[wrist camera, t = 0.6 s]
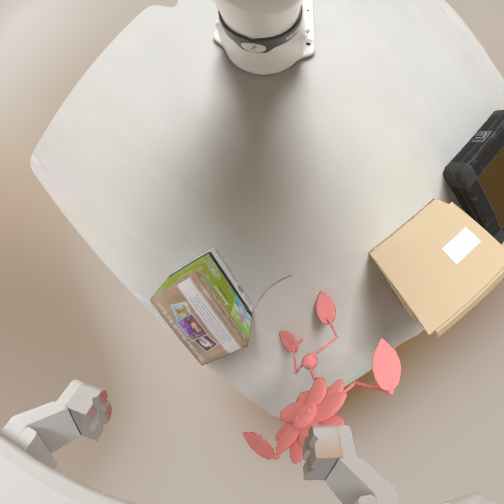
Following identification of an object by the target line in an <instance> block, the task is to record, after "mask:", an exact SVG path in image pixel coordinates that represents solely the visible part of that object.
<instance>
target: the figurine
mask: <svg viewBox="0 0 504 504" xmlns="http://www.w3.org/2000/svg"><path fill="white" fill-rule="evenodd" d="M290 276H291V275H290ZM288 277H289V276H288ZM283 279H284V278H283ZM281 280H282V279H281ZM276 283H277V282H276ZM273 285H274V284H273ZM273 285H272V286H273ZM264 290H265V289H264ZM262 296H263V295H262ZM260 299H261V298H260ZM256 307H257V306H256ZM316 309H317V314H318V317H319V318H320V320H321V321H322V322H323V323H324V324H328V325H329V324H330V326H331V328H332V330H333V332H334V334H335V336H336V337H335V338H334V339H333V340H332V341H330V342H329V343H328V344H326V345H325V346H324V347H322V348H321V349H319V350H318V351H317V352H315V353H314V354H307V355H305V356H304V357H303V359H302V364H301V366H300V367H299V368H298V370H296V360H295V352H297V351H298V350H297V349H298V345H299V344H300V343H301V342H302V341H303V339H301V340H300V341H299V342H298V343H297V341H296V339H295V337H294V336H293V335H292V333H290V332H279V333H280V337H281V340H282V343H283V345H284V346H285V348H286V349H287V350H288V351H290V352H293V359H294V370H295V374H297V373H298V372H299V370H300V369H301V368H302V366H304V367H305V368H306V369H309V370H310V372H311V374H312V377H313V379H314V383H313V385H312V387H311V389H310V391H305V392H302V393H300V395H299V396H298V398H297V401H296V402H295V403H293V404H291V405H289V406H287V407H286V408H285V409H284V410H283V411H282V412H281V414H280V419H281V420H282V421H286V423H285V424H284V425H283V427H281V429H280V430H279V432H278V433H277V435H276V438H275V439H276V441H278V443H277V446H276V454H275V452H274V449H273V448H272V446H270V444H269V443H268V442H267V441H266V440H265V439H264V438H263V437H262V436H260V435H258V434H256V433H254V432H245V433H243V435H244V437H245V439H246V441H247V442H248V444H249V445H250V447H251V448H252V449H253V450H254V451H255V452H256V453H257V454H258V455H260V456H261V457H263V458H266V459H269V460H271V459H273V458H274V459H275V460H277V459H278V458H279V455H280V454H281V453H283V452H284V451H285V450H287V449H288V448H289V447H290V458H291V461H292V462H293V463H294V464H297V463H299V462H300V461H301V460H302V459H303V444H304V440H305V438H306V437H307V436H309V434H308V430H309V428H310V426H311V425H314V426H328V425H335V426H344V424H345V422H344V421H343V419H342V418H340V417H339V416H337V415H335V414H336V412H337V411H338V410H339V409H340V408H341V406H342V405H343V403H344V401H345V399H346V396H347V394H346V392H348V391H349V390H350V389H351V388H352V387H353V386H354V385H359V386H363V387H366V388H370V389H374V390H378V391H382V392H386V393H388V394H389V395H392V394H393V393H394V390H393V389H394V388H395V387H396V386H397V385H398V384H399V379H400V375H401V364H400V360H399V358H398V355H397V353H396V351H395V350H394V349H393V348H392V347H391V346H390V345H389V344H388V343H387V342H386V341H385V340H384V339H382V338H381V340H380V341H379V343H378V345H377V348H376V351H375V353H374V356H373V366H372V370H373V373H374V378H375V380H376V381H377V383H378V384H379V386H380V387H378V386H374V385H370V384H365V383H362V382H356V381H354V382H353V383H352V384H351V385H350V386H349V387H347V389H345V390H344V391H343V389H344V382H343V380H337V381H336V382H335V383H334V384H333V385H332V386H331V387H330V388H329V389H328V390H327V385H326V383H325V380H324V379H323V377H319V378H317V377H316V375H315V373H314V371H313V368H315V367H316V366H317V364H318V359H317V357H316V356H315V355H316V354H317V353H319V352H320V351H321V350H323V349H324V348H325V347H327V346H328V345H329V344H331V343H332V342H333V341H335V340H336V339H337V338H338V335H337V333H336V331H335V329H334V327H333V325H332V322H333V321H334V319H335V312H336V310H335V305H334V303H333V301H332V299H331V298H330V297H329V296H327V295H326V294H325V293H323V292H320V294H319V296H318V300H317V303H316ZM254 329H255V328H254Z"/></svg>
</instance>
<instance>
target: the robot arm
mask: <svg viewBox="0 0 504 504" xmlns="http://www.w3.org/2000/svg"><path fill="white" fill-rule="evenodd" d="M213 1H214V3H215V4H216V6H217V8H218V13H219V20H218V21H216V30H215V31H214V33H213V37H214V40H215V41H216V42H217V43H218V44H220V45H221V46H222V47H223V48H224V49H225V51H226V53H227V55H228V57H229V59H230V60H231V61H232V62H233V63H234V64H235V65H236V66H237V67H239V68H240V69H242V70H244V71H247V72H250V73H253V74H260V75H268V74H274V73H278V72H281V71H284V70H286V69H287V68H289V67H291V66H292V65H293V64H294V63H295V62H297V61H298V60H300V59H302V58H306V57H309V56H311V55H313V54H314V53H315V37H314V20H313V6H312V0H213ZM307 11H308V12H307ZM306 43H309V44H310V45H309V46H308V45H306ZM107 397H108V395H107V392H106V391H105V390H102V389H100V388H97V387H94V386H92V385H89V384H86V383H84V382H81V381H78V380H76V379H75V380H73V381H72V382H71V383H70V384H69V386H68V387H67V388H66V389H65V391H64V392H63V393H62V395H61V396H60V397H59V398H58V400H57V401H56V402H50V403H47V404H45V405H42V406H40V407H37V408H35V409H32V410H29V411H26V412H24V413H21V414H18V415H15V416H13V417H12V418H11V419H10V421H9V422H8V423H7V424H6V426H5V427H4V428H3V429H2V431H1V432H0V504H134V503H131V502H128V501H126V500H123V499H120V498H117V497H114V496H112V495H109V494H107V493H104V492H102V491H99V490H97V489H95V488H92V487H90V486H88V485H85V484H83V483H81V482H79V481H77V480H74V479H72V478H70V477H69V476H66V475H65V474H63V473H61V472H59V471H57V470H55V467H56V465H57V462H56V460H55V459H54V457H53V456H52V455H51V453H52V452H54V451H56V450H58V449H59V448H61V447H62V446H64V445H66V444H68V443H69V442H71V441H73V440H75V439H76V438H78V437H80V436H81V435H83V436H85V437H88V438H91V439H93V440H96V441H98V439H99V438H100V436H101V434H102V432H103V426H102V425H104V424H107V423H108V421H109V419H110V417H111V413H112V411H111V410H112V408H111V404H110V402H109V401H108V400H107ZM308 434H309V436H307V437H306V438H305V440H304V444H303V459H304V460H305V461H306V462H305V464H304V466H303V470H304V471H303V472H304V480H325V482H326V483H327V485H328V486H329V487H330V488H331V490H332V491H333V492H334V493H335V495H336V496H337V497H338V499H339V500H340V501H341V502H342V504H400V502H399V498H398V494H397V490H396V489H395V488H394V487H393V486H392V485H390V484H389V483H388V482H387V481H386V480H385V479H384V478H383V477H381V476H380V475H379V474H378V473H377V472H376V471H375V470H374V469H372V468H371V467H370V466H369V465H368V464H367V463H366V462H365V461H364V460H363V459H362V458H360V457H357V456H356V451H355V447H354V442H353V438H352V433H351V429H350V427H349V426H347V425H345V426H335V425H328V426H314V425H311V426H310V428H309V430H308ZM443 504H497V503H496V502H494V501H493V500H491V499H489V498H488V497H486V496H484V495H482V494H480V493H478V492H473V493H470V494H467V495H464V496H462V497H459V498H457V499H454V500H451V501H449V502H446V503H443Z"/></svg>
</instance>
